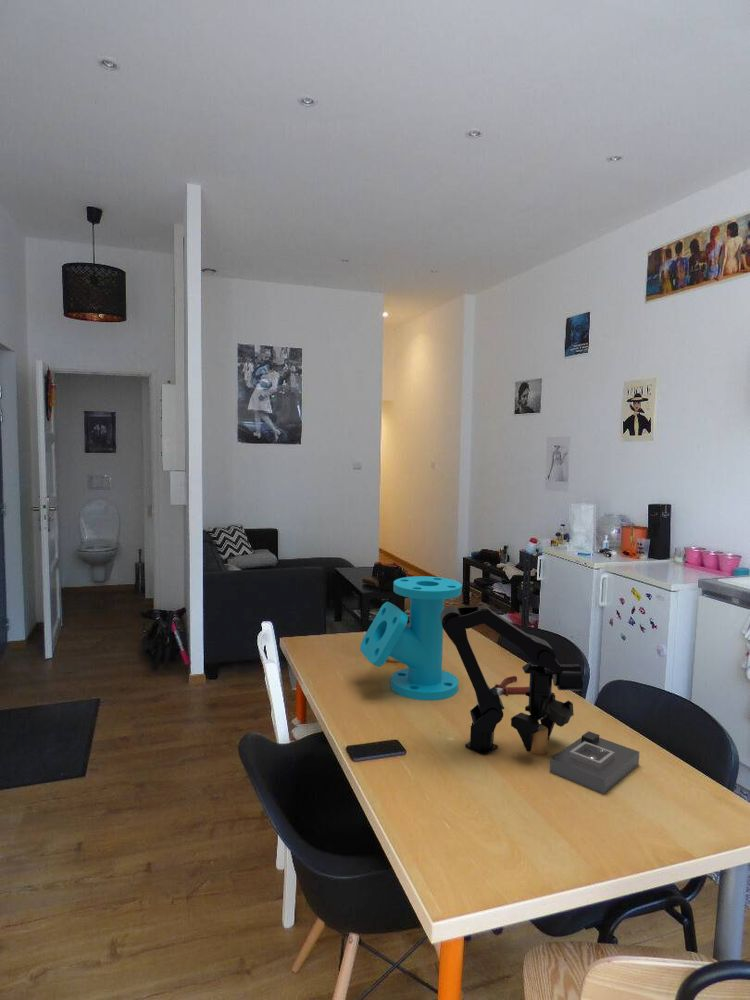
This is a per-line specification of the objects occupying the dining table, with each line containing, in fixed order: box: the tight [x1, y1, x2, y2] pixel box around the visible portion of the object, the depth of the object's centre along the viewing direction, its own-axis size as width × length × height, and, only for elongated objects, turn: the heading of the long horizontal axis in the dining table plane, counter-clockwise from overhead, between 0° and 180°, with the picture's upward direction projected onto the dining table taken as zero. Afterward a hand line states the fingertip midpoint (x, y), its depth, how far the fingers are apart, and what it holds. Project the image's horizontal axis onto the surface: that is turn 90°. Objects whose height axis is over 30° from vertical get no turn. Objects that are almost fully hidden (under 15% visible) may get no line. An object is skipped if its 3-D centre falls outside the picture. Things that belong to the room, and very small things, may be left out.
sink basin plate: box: [549, 731, 640, 795], centre depth 158 cm, size 20×14×5 cm
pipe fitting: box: [359, 575, 463, 701], centre depth 207 cm, size 22×32×35 cm
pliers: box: [494, 675, 529, 697], centre depth 207 cm, size 12×20×3 cm, turn 125°
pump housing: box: [530, 723, 548, 755], centre depth 168 cm, size 5×7×7 cm
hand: (537, 745), depth 168 cm, fingers open, 9 cm apart
